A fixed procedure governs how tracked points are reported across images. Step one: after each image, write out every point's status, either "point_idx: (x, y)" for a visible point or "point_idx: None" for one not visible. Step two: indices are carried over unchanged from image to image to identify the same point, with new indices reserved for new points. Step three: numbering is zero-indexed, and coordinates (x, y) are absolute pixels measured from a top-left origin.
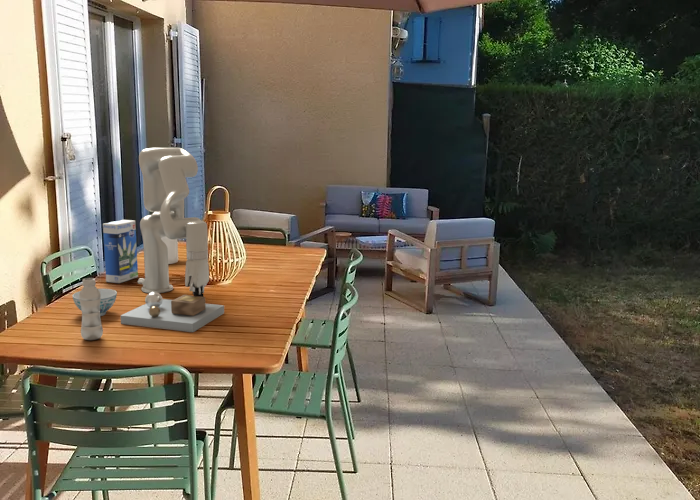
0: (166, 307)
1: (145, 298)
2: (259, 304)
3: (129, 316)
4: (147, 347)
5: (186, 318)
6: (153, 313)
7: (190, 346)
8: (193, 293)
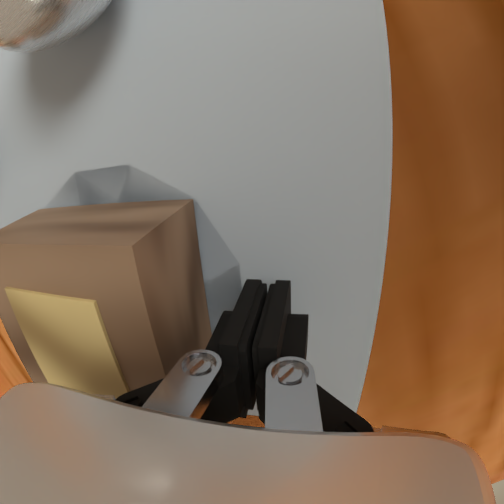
0: (133, 53)
1: None
2: (497, 429)
3: None
4: None
5: None
6: None
7: (9, 363)
8: (184, 363)
